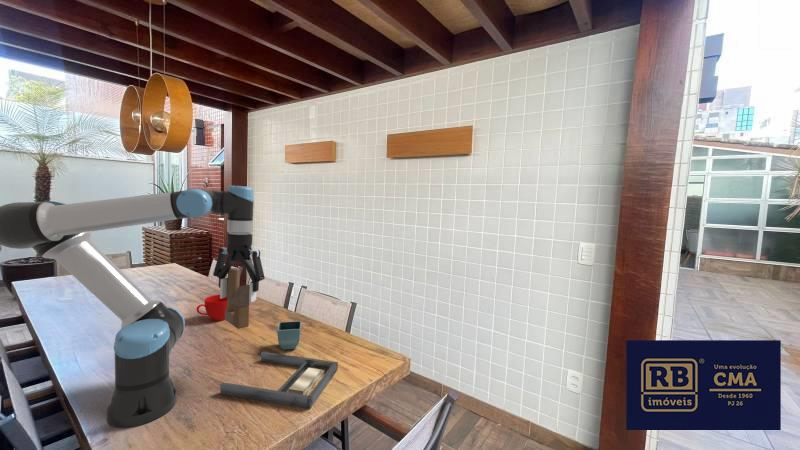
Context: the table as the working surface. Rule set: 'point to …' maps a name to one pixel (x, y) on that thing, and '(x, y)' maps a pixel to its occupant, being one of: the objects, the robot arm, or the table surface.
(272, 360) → the tray
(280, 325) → the flower pot
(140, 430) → the table surface
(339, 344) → the table surface
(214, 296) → the ceramic cup
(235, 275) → the wooden block
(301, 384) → the offcut stack
